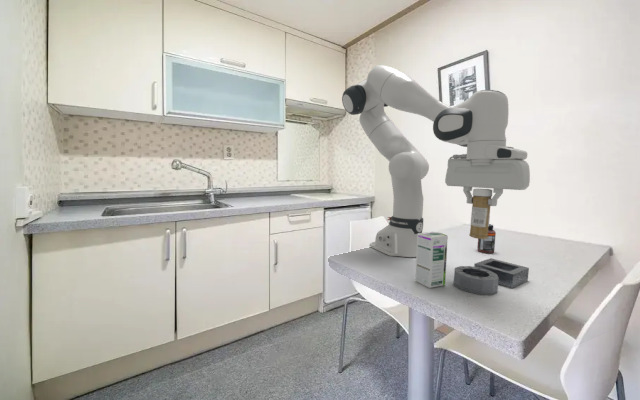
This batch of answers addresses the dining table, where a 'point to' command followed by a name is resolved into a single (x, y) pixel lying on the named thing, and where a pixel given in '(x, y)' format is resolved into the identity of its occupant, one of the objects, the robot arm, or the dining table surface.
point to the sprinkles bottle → (480, 213)
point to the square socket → (505, 272)
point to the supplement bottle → (487, 241)
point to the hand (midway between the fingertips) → (481, 204)
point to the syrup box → (431, 259)
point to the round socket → (476, 280)
